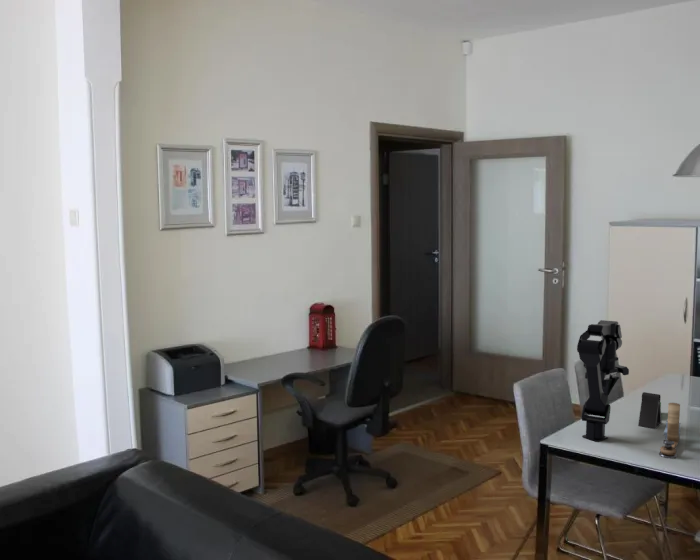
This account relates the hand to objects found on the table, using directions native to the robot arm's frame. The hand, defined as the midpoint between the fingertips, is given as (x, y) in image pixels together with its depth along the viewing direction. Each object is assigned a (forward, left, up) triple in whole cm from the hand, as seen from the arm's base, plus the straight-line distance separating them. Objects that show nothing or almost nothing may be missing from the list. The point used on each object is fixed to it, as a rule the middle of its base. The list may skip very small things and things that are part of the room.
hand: (606, 395), depth 270 cm
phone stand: (+16, -8, -12) cm, 22 cm away
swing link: (-3, -28, -11) cm, 31 cm away
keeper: (+5, -24, -12) cm, 28 cm away
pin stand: (-9, -31, -12) cm, 35 cm away
